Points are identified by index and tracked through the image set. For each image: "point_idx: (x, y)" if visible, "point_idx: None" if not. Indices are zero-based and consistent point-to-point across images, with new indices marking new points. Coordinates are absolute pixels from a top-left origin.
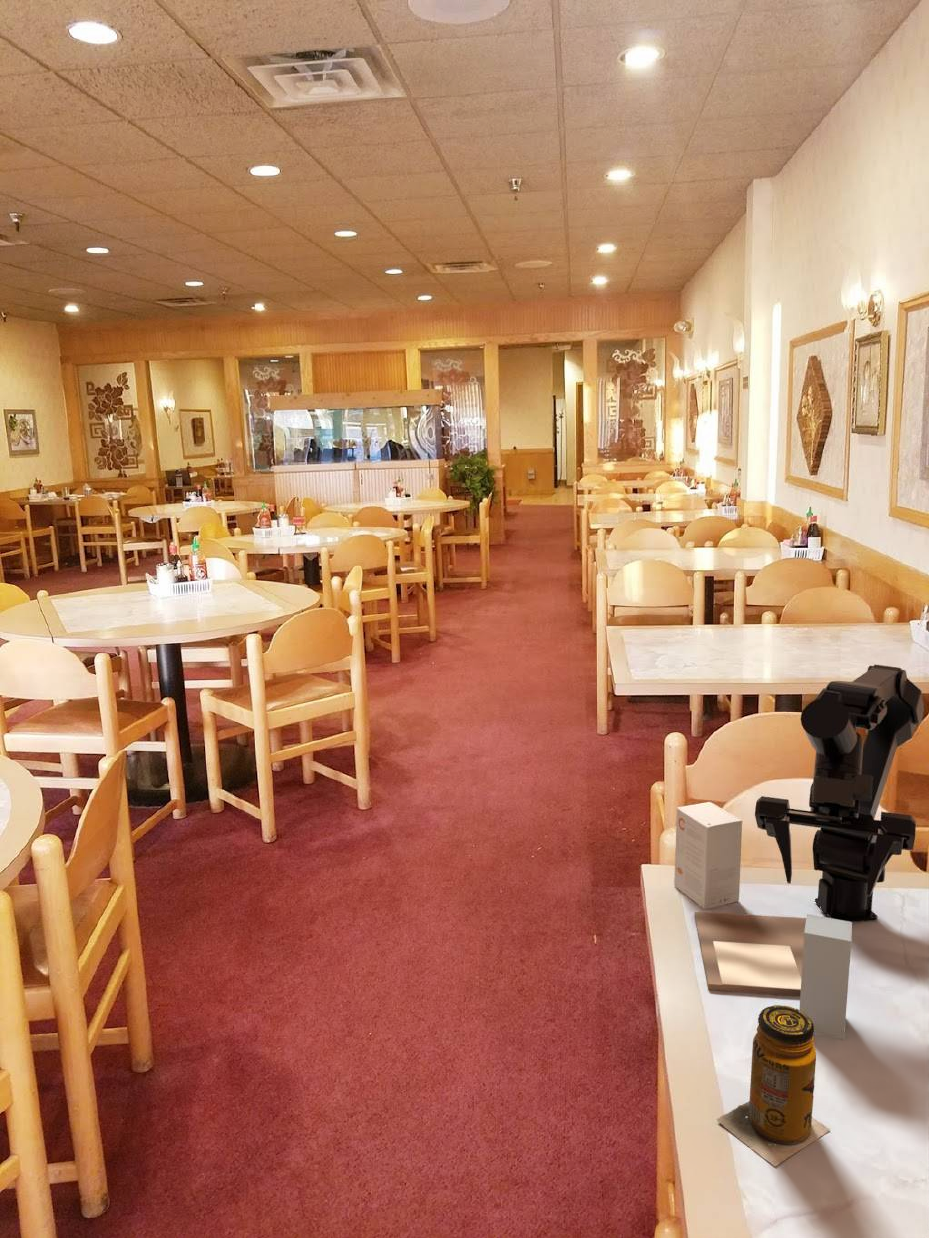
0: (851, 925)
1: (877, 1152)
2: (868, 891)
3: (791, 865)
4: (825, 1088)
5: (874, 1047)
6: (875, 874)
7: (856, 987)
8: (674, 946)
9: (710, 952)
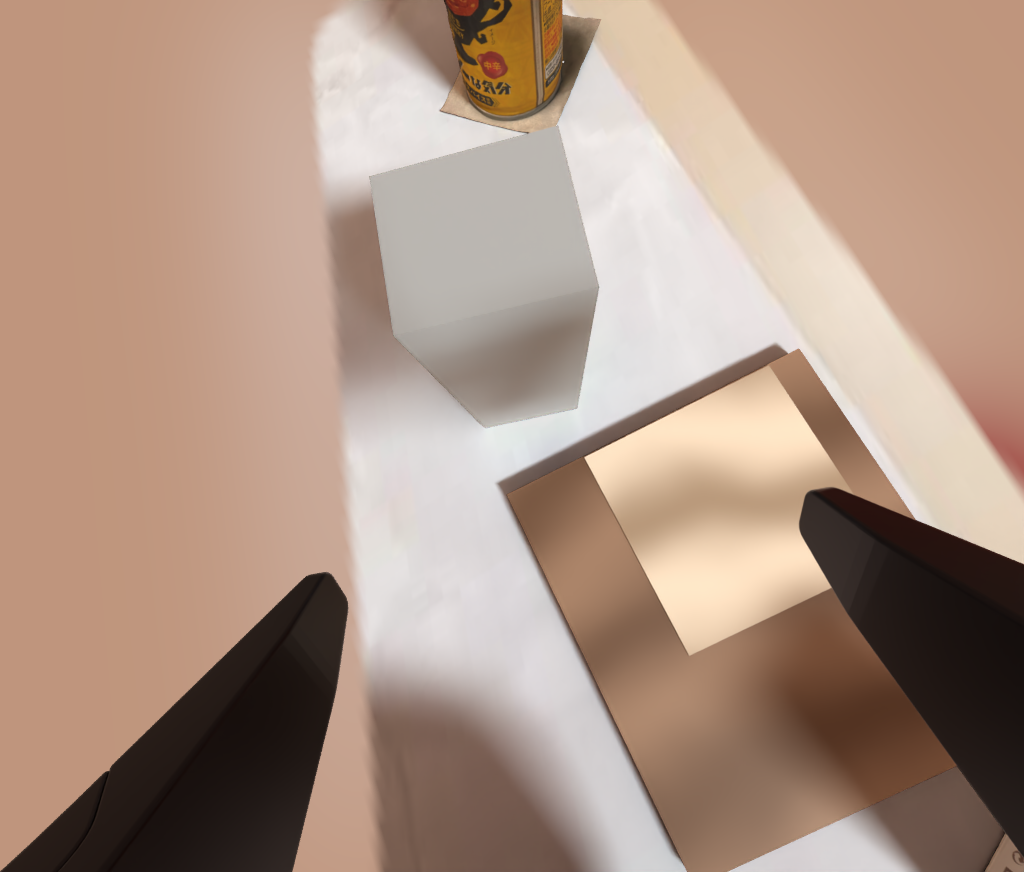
0: (390, 302)
1: (371, 114)
2: (311, 578)
3: (909, 661)
4: None
5: (414, 360)
6: (196, 696)
7: (487, 566)
8: (977, 497)
9: (869, 495)
